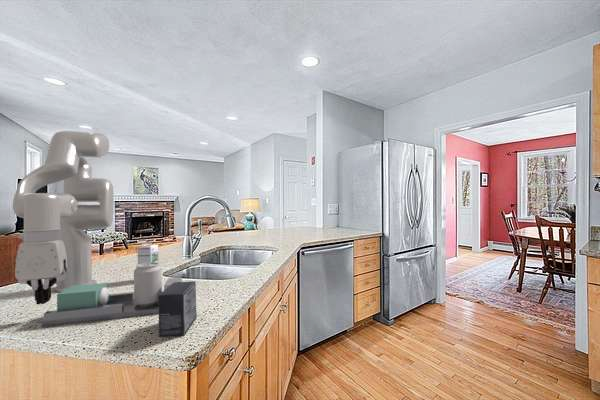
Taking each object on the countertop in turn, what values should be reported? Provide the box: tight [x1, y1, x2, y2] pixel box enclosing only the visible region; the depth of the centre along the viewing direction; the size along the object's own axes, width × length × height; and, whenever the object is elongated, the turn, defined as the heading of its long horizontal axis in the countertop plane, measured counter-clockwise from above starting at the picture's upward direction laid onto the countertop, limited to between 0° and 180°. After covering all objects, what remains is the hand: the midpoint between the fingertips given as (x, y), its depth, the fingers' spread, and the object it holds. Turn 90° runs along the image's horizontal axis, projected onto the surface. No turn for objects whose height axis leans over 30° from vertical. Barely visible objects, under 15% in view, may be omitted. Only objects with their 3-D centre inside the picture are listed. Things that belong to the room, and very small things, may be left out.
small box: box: [158, 280, 198, 338], centre depth 73 cm, size 11×6×10 cm, turn 5°
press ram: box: [56, 282, 109, 310], centre depth 81 cm, size 10×8×6 cm
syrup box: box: [136, 243, 159, 265], centre depth 116 cm, size 6×6×14 cm
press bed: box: [41, 276, 183, 328], centre depth 83 cm, size 33×12×8 cm, turn 107°
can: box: [133, 262, 163, 306], centre depth 86 cm, size 8×8×12 cm
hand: (43, 302), depth 78 cm, fingers closed
